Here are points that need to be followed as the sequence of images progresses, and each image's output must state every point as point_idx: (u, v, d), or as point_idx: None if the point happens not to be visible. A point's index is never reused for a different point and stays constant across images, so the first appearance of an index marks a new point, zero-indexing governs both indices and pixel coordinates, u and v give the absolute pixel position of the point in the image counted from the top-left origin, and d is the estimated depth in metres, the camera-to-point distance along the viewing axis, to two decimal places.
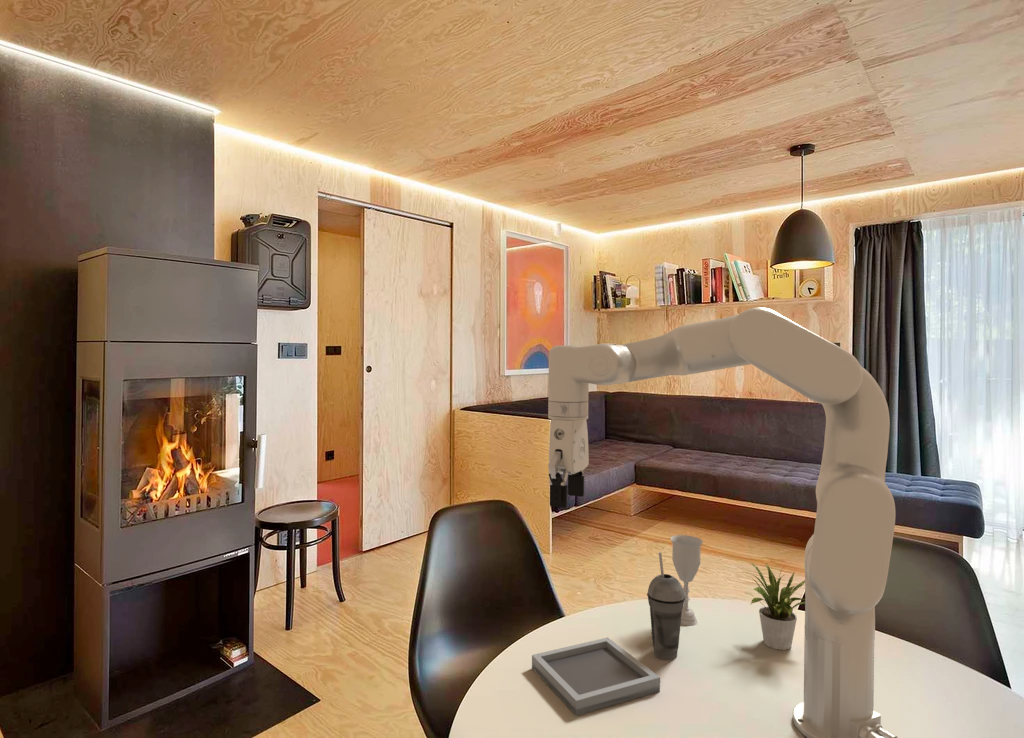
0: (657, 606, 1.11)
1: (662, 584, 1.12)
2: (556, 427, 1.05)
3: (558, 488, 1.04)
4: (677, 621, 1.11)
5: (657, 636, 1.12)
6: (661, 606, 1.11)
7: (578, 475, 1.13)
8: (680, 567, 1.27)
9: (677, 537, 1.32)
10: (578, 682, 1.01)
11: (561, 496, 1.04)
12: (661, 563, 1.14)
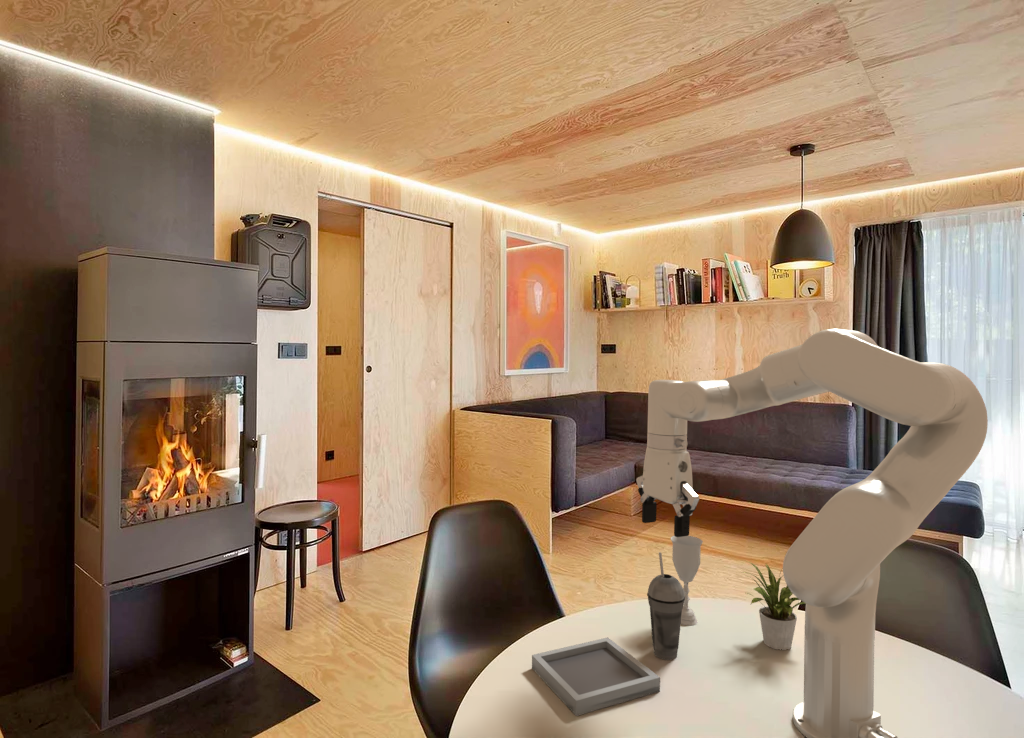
0: (657, 606, 1.11)
1: (662, 584, 1.12)
2: (679, 460, 1.09)
3: (686, 518, 1.09)
4: (677, 621, 1.11)
5: (657, 636, 1.12)
6: (661, 606, 1.11)
7: (652, 502, 1.18)
8: (680, 567, 1.27)
9: (677, 537, 1.32)
10: (578, 682, 1.01)
11: None
12: (661, 563, 1.14)
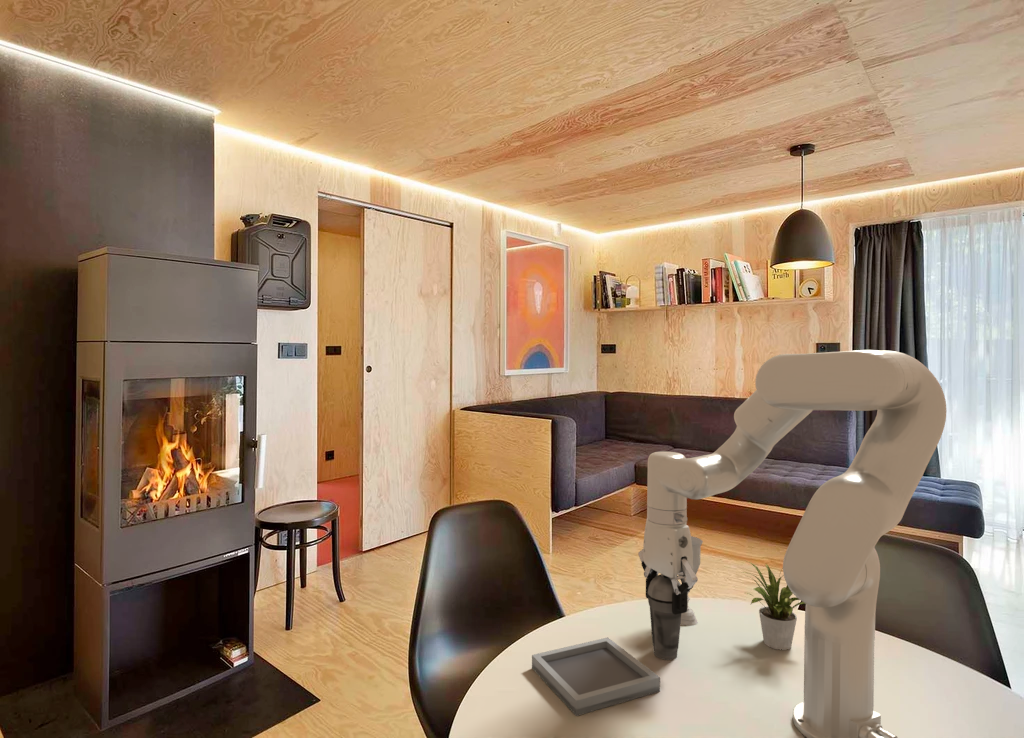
0: (657, 606, 1.11)
1: (662, 584, 1.12)
2: (679, 536, 1.09)
3: (684, 595, 1.09)
4: (677, 621, 1.11)
5: (657, 636, 1.12)
6: (661, 606, 1.11)
7: None
8: None
9: None
10: (578, 682, 1.01)
11: None
12: None
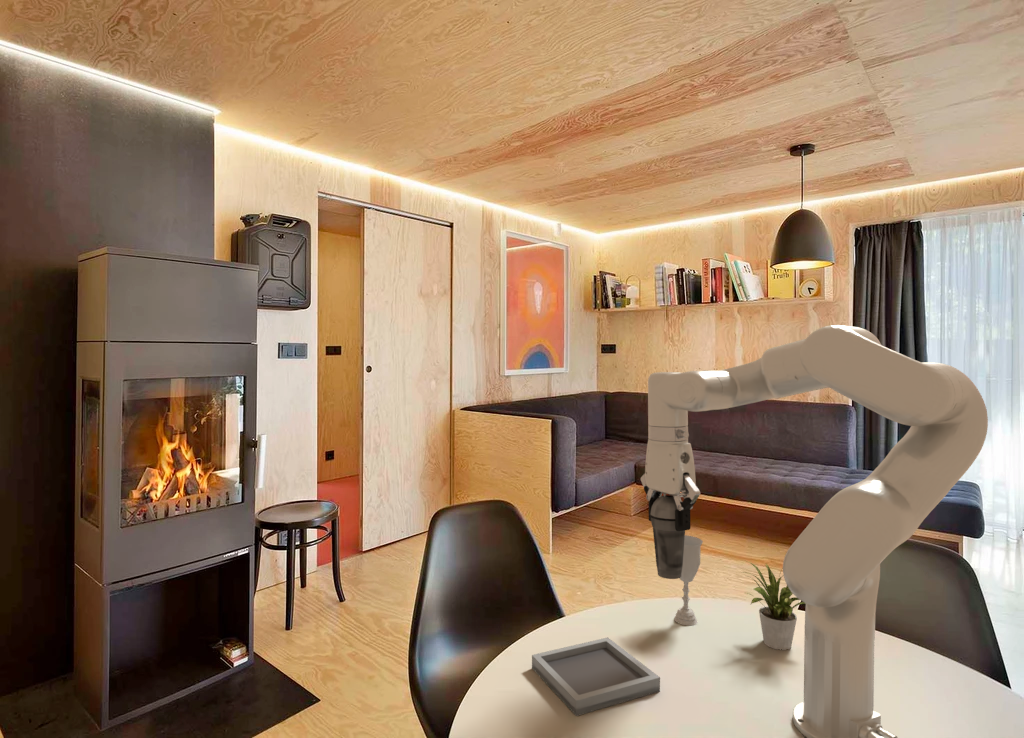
0: (660, 525, 1.11)
1: (664, 503, 1.11)
2: (681, 451, 1.09)
3: (687, 511, 1.09)
4: (680, 539, 1.11)
5: (661, 556, 1.11)
6: (664, 524, 1.10)
7: None
8: None
9: None
10: (578, 682, 1.01)
11: None
12: None
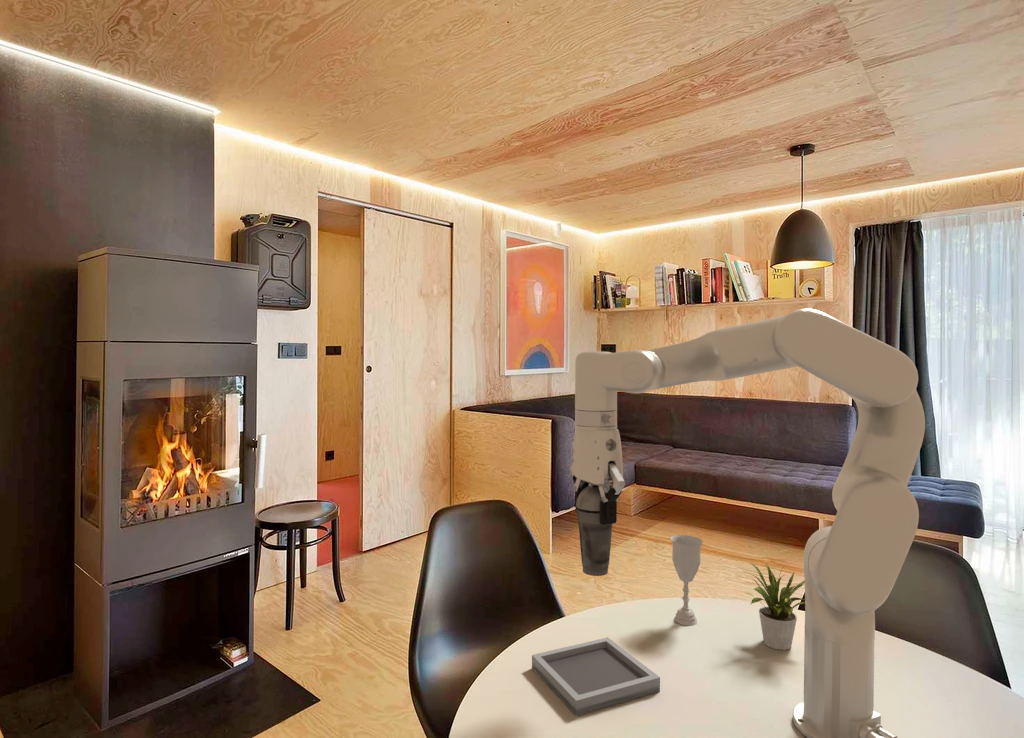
0: (584, 517, 1.02)
1: (590, 494, 1.02)
2: (607, 438, 1.00)
3: (612, 503, 1.00)
4: (606, 533, 1.02)
5: (585, 551, 1.02)
6: (588, 516, 1.01)
7: None
8: (680, 567, 1.27)
9: (677, 537, 1.32)
10: (578, 682, 1.01)
11: None
12: None
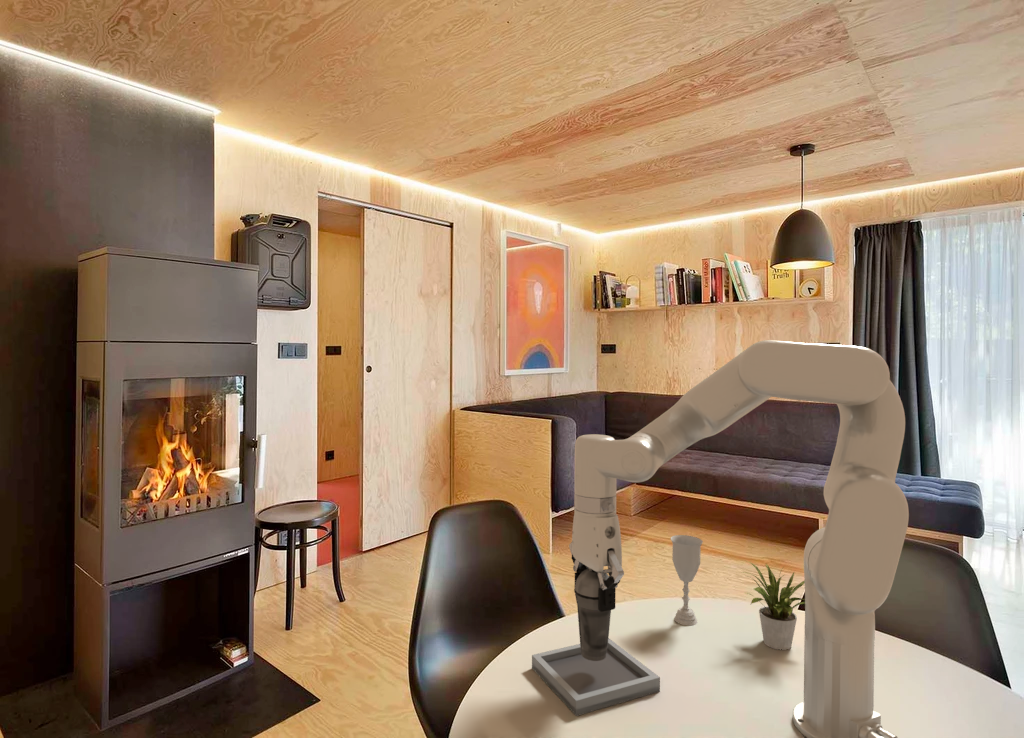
0: (583, 602, 1.02)
1: (588, 579, 1.02)
2: (606, 525, 1.00)
3: (611, 590, 1.00)
4: (605, 619, 1.02)
5: (583, 635, 1.03)
6: (587, 602, 1.01)
7: None
8: (680, 567, 1.27)
9: (677, 537, 1.32)
10: (578, 682, 1.01)
11: None
12: None
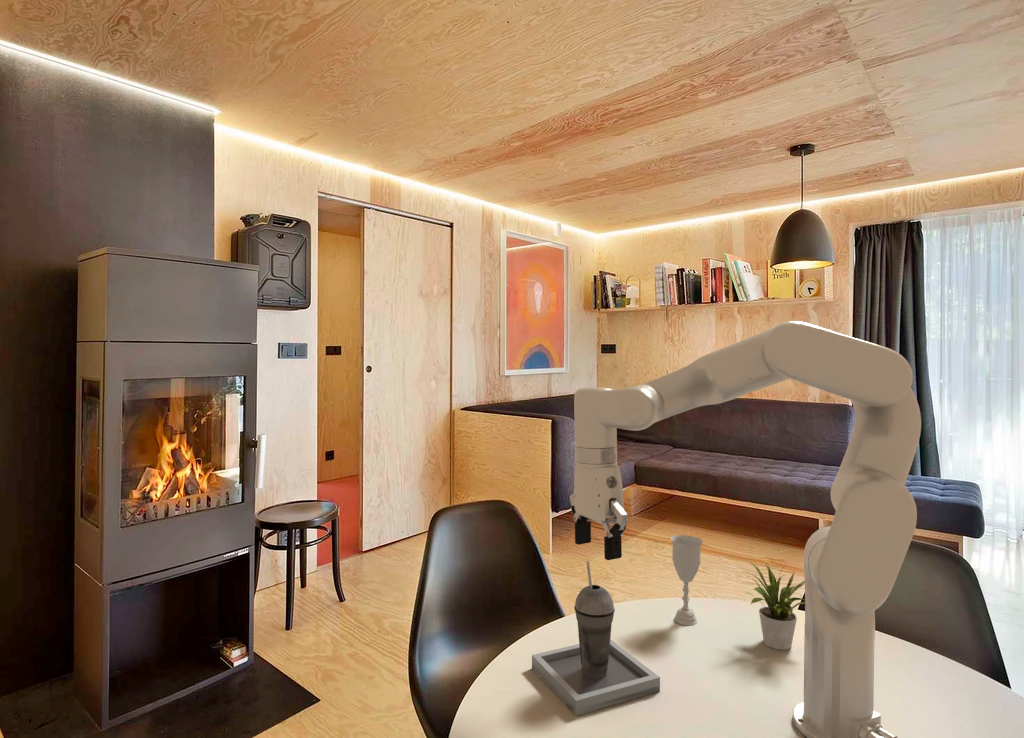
0: (583, 620, 1.02)
1: (589, 596, 1.03)
2: (607, 475, 1.00)
3: (617, 538, 0.99)
4: (605, 636, 1.02)
5: (584, 653, 1.03)
6: (587, 620, 1.02)
7: (586, 521, 1.08)
8: (680, 567, 1.27)
9: (677, 537, 1.32)
10: (578, 682, 1.01)
11: None
12: (589, 573, 1.05)
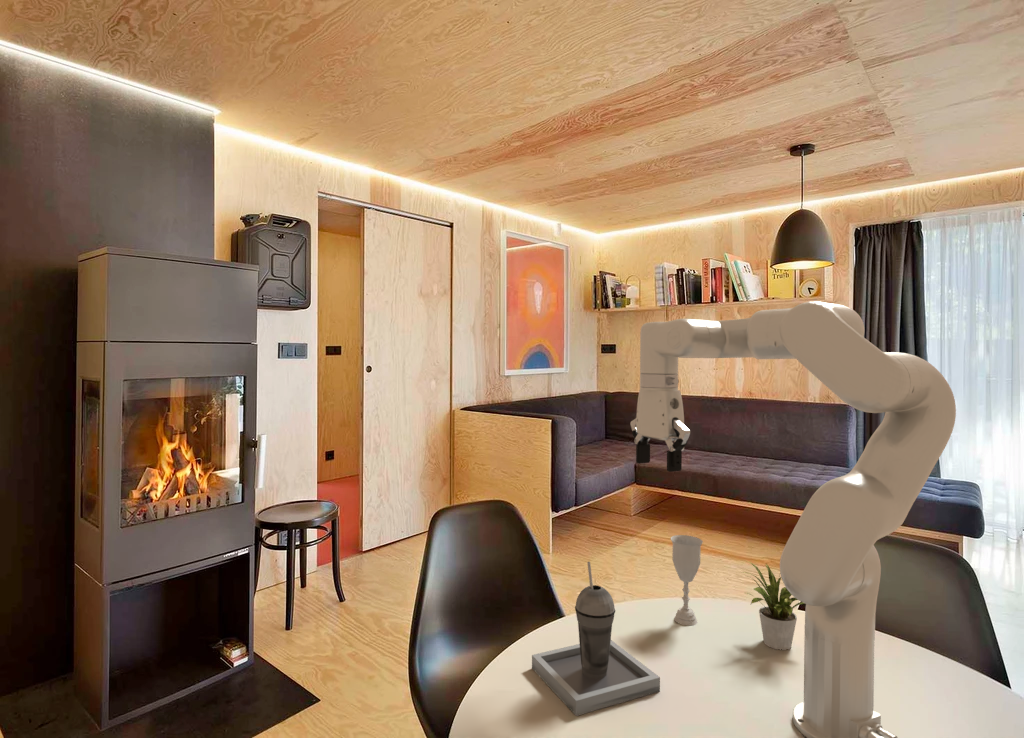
0: (584, 620, 1.02)
1: (589, 597, 1.02)
2: (671, 397, 1.13)
3: (678, 453, 1.12)
4: (606, 637, 1.02)
5: (584, 653, 1.03)
6: (588, 621, 1.01)
7: (646, 443, 1.22)
8: (680, 567, 1.27)
9: (677, 537, 1.32)
10: (578, 682, 1.01)
11: None
12: (590, 573, 1.04)
